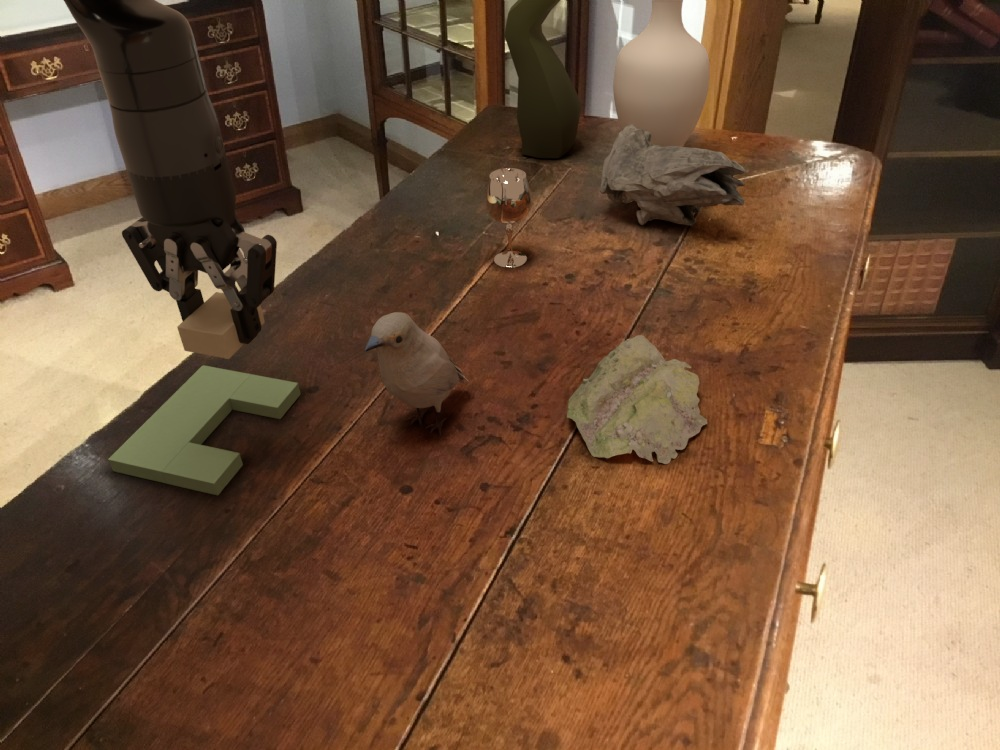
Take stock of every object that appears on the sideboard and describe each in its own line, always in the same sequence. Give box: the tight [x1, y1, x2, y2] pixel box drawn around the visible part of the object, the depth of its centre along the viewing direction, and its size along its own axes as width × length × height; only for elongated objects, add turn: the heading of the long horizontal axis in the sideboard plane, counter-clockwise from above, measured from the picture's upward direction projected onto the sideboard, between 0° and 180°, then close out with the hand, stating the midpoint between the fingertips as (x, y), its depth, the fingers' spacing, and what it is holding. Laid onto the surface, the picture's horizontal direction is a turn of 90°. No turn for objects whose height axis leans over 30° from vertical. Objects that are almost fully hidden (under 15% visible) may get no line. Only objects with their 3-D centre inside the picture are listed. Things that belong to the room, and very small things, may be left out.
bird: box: [363, 311, 470, 436], centre depth 83 cm, size 5×14×15 cm, turn 145°
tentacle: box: [503, 0, 583, 159], centre depth 135 cm, size 9×12×30 cm
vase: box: [612, 0, 711, 147], centre depth 129 cm, size 14×14×28 cm
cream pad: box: [176, 291, 266, 360], centre depth 76 cm, size 6×5×3 cm
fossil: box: [599, 125, 746, 227], centre depth 119 cm, size 20×18×15 cm
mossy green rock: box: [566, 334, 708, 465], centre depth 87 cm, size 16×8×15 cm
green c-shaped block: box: [107, 365, 302, 496], centre depth 87 cm, size 16×12×2 cm
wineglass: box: [485, 167, 532, 269], centre depth 111 cm, size 6×6×12 cm
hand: (224, 333), depth 76 cm, fingers closed on cream pad, 4 cm apart
